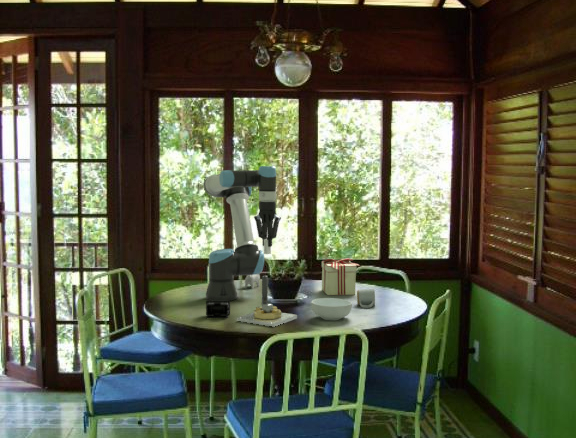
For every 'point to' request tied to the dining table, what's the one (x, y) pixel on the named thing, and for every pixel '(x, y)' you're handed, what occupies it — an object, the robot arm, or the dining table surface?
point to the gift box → (339, 277)
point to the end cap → (217, 309)
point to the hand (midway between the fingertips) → (267, 253)
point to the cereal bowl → (331, 308)
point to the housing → (267, 322)
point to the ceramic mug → (366, 298)
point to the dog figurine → (252, 280)
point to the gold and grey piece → (259, 312)
